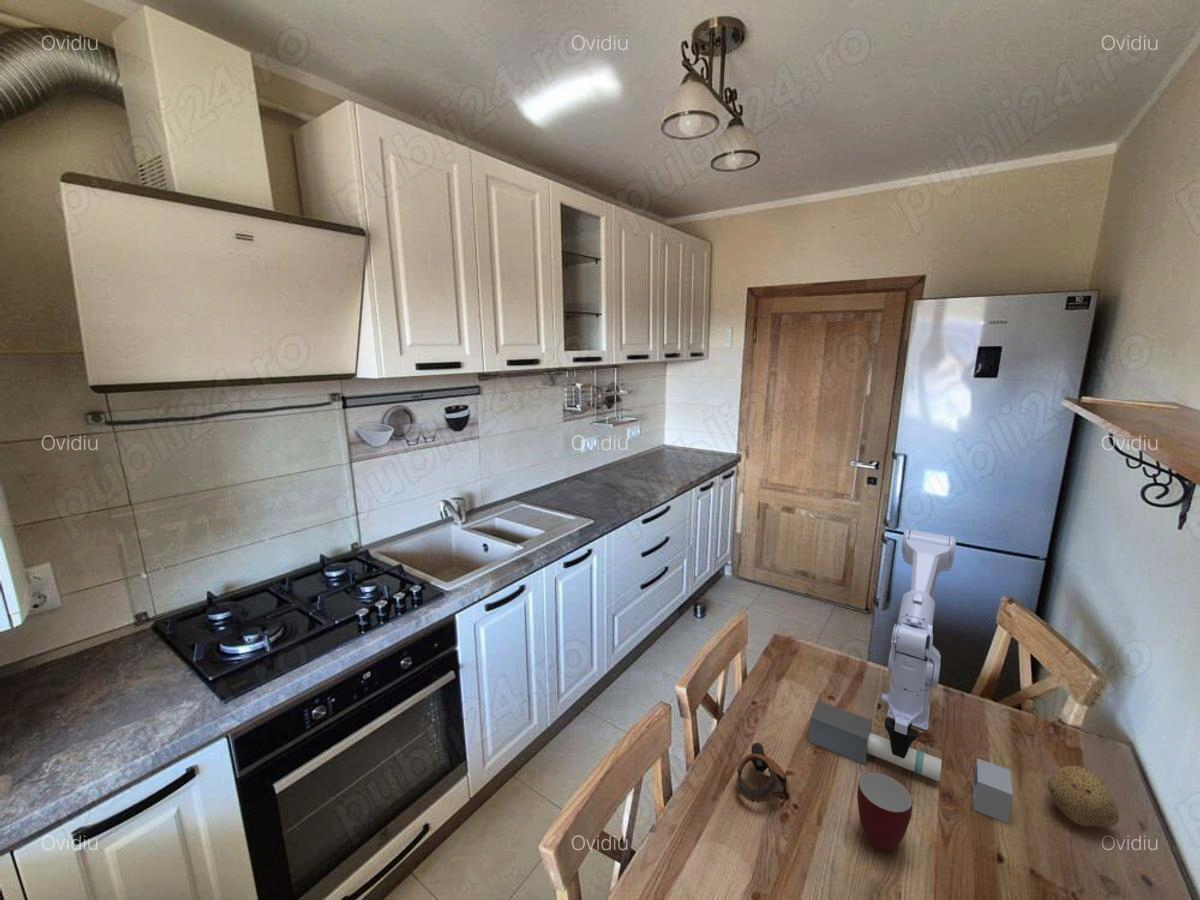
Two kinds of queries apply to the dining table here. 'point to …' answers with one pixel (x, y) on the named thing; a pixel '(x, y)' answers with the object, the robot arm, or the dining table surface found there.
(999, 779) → the socket
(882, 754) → the tube
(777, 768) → the brown ring clamp
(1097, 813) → the natural sponge
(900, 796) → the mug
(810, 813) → the dining table surface
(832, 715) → the grey stone block
